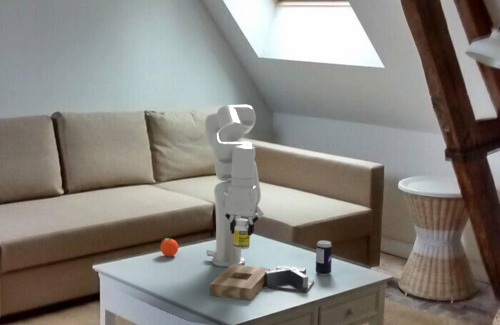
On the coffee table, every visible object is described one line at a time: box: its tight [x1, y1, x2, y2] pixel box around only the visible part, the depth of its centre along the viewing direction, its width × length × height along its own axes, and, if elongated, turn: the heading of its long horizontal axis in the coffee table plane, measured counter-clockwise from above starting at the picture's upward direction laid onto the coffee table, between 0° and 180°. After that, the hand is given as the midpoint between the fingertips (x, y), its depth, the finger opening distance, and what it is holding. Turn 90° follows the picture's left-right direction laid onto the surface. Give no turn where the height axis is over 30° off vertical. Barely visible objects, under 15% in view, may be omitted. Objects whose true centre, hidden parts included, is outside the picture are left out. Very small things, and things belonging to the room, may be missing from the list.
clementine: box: [160, 238, 179, 257], centre depth 292 cm, size 8×7×7 cm
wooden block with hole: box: [209, 264, 271, 301], centre depth 258 cm, size 14×22×4 cm, turn 162°
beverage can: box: [315, 239, 333, 276], centre depth 273 cm, size 6×6×12 cm
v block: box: [261, 264, 315, 294], centre depth 261 cm, size 16×11×5 cm
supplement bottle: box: [234, 218, 251, 250], centre depth 255 cm, size 5×5×10 cm
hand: (242, 233), depth 255 cm, fingers closed on supplement bottle, 5 cm apart
